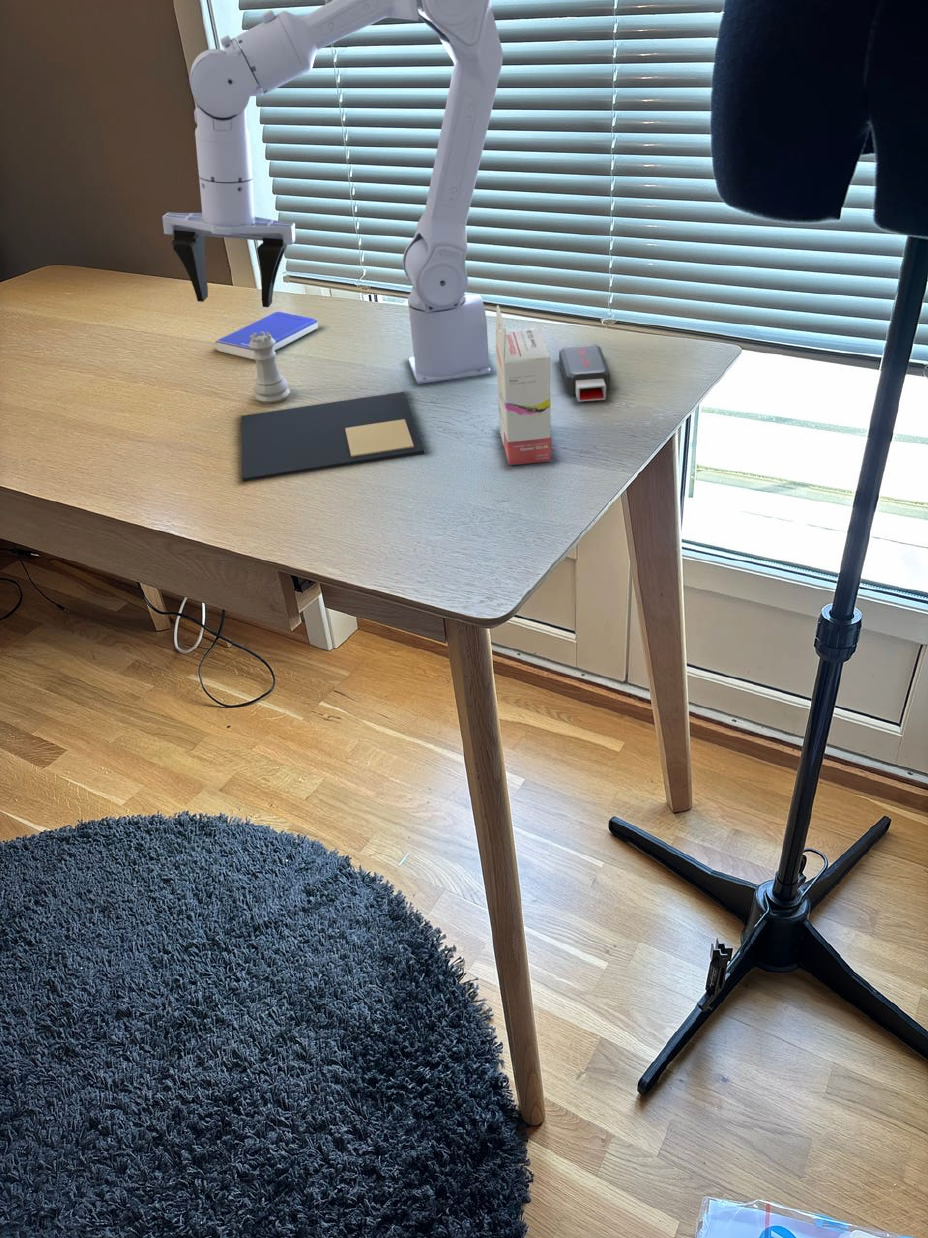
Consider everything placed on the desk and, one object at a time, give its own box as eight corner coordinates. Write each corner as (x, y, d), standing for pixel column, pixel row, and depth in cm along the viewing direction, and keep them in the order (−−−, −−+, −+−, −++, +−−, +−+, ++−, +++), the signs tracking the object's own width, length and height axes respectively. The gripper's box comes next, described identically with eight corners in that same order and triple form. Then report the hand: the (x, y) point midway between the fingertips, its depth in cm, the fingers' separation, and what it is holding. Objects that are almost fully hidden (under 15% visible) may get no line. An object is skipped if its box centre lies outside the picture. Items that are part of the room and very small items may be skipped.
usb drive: (599, 360, 122) (600, 339, 121) (613, 400, 113) (614, 378, 111) (558, 363, 122) (558, 342, 121) (569, 404, 113) (569, 382, 111)
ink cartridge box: (554, 462, 102) (552, 327, 93) (507, 467, 102) (501, 332, 93) (542, 426, 109) (539, 297, 100) (498, 431, 109) (491, 302, 100)
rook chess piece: (283, 405, 118) (271, 342, 113) (250, 404, 119) (236, 342, 114) (295, 389, 122) (284, 328, 117) (263, 389, 123) (250, 328, 118)
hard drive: (256, 349, 129) (316, 318, 137) (214, 339, 133) (275, 310, 141) (258, 360, 130) (318, 329, 138) (216, 350, 134) (277, 320, 142)
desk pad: (404, 394, 118) (403, 390, 118) (424, 453, 106) (423, 448, 105) (241, 418, 116) (240, 414, 116) (242, 481, 104) (241, 476, 103)
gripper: (148, 179, 102) (163, 307, 110) (284, 190, 102) (289, 317, 109) (168, 166, 107) (181, 288, 115) (297, 176, 107) (301, 298, 115)
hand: (235, 301), depth 113 cm, fingers open, 7 cm apart
